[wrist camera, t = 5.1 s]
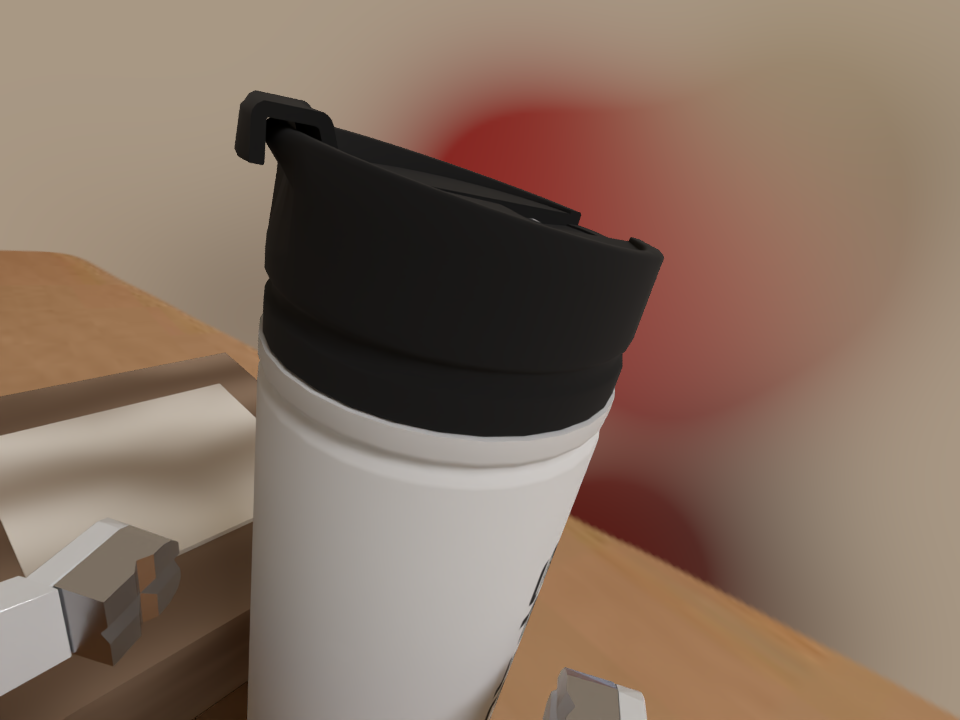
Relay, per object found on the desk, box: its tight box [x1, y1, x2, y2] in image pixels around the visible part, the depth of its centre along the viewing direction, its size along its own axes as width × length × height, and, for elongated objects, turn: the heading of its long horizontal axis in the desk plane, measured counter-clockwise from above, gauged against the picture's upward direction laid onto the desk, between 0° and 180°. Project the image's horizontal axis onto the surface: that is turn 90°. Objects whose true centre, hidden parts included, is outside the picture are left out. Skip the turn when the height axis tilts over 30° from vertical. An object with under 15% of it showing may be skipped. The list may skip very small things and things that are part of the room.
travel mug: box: [235, 91, 664, 720], centre depth 12 cm, size 6×7×20 cm
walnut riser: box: [0, 353, 257, 720], centre depth 23 cm, size 17×14×4 cm
